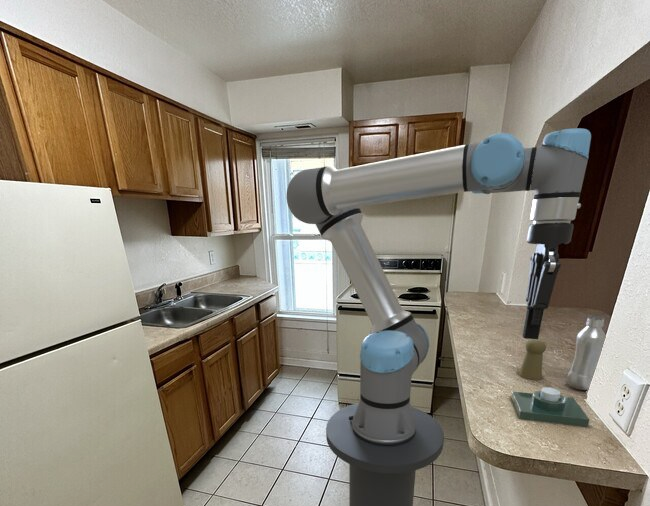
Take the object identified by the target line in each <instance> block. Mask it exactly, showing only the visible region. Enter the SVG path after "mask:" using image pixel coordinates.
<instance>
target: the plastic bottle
mask: <svg viewBox="0 0 650 506" xmlns="http://www.w3.org/2000/svg"><path fill="white" fill-rule="evenodd" d="M585 325H586V326H585V327H583V328H582V329H581V330H580V331H579V332H578V333H577V335H576V341H575V353H574V358H573V361H572V364H571V367H570V370H569V372H568V373H567V375H566V382H567V384H568V386H569V387H571V388H573V389H576V390H579V391H588V390H590V389H589V386H590V383H591V381H592V378H593V375H594V372H595V369H596V370H597V368H596V366H597V367H598V362H599V358H600V357H601V353H602V351H603V349H602V347H603V348H604V346H603V344H604V341H605V338H606V339H607V336H606V333H605V331H604V330H603V327H604V325H605V318H603V317H600V316H588V317H587V319H586V322H585ZM604 345H605V344H604Z"/></svg>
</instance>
